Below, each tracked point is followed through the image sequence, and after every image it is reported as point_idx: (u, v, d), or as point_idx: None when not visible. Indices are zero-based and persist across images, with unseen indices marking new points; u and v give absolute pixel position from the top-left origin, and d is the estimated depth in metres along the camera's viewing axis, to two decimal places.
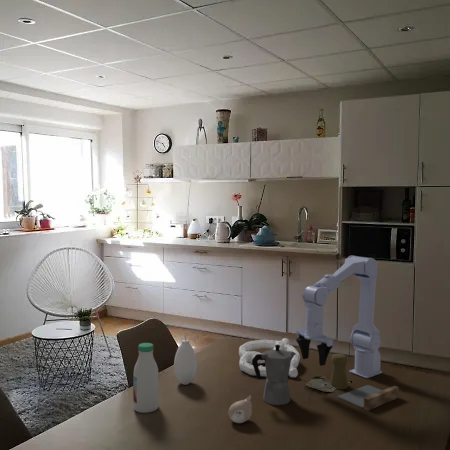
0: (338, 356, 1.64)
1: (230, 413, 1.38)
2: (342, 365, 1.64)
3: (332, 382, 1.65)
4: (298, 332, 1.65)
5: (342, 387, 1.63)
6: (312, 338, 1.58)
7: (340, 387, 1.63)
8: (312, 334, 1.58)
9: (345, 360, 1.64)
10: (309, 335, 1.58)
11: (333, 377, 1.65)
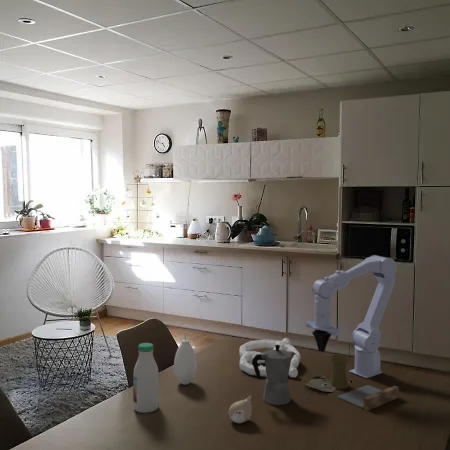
0: (338, 356, 1.64)
1: (230, 413, 1.38)
2: (342, 365, 1.64)
3: (332, 382, 1.65)
4: (307, 323, 1.76)
5: (342, 387, 1.63)
6: (320, 328, 1.68)
7: (340, 387, 1.63)
8: (320, 325, 1.69)
9: (345, 360, 1.64)
10: (317, 326, 1.69)
11: (333, 377, 1.65)
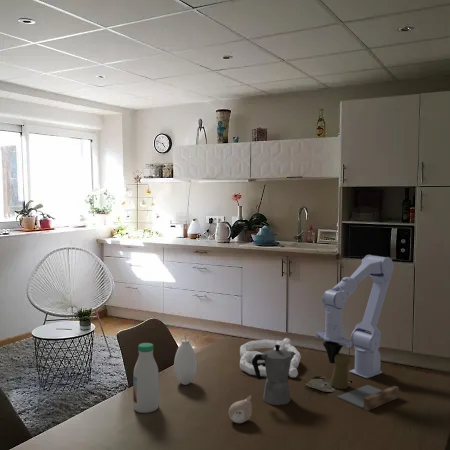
0: (341, 357, 1.63)
1: (230, 413, 1.38)
2: (345, 366, 1.63)
3: (333, 381, 1.65)
4: (317, 334, 1.72)
5: (342, 387, 1.63)
6: (331, 340, 1.64)
7: (340, 387, 1.63)
8: (331, 336, 1.65)
9: (348, 361, 1.63)
10: (328, 337, 1.65)
11: (334, 376, 1.64)
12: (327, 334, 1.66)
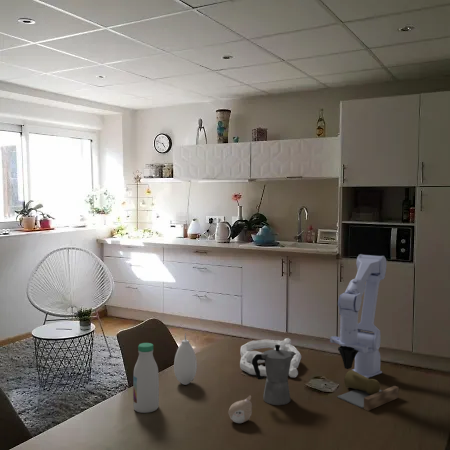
0: (373, 388, 1.55)
1: (230, 413, 1.38)
2: (365, 390, 1.58)
3: (350, 374, 1.62)
4: (332, 338, 1.66)
5: (346, 384, 1.63)
6: (347, 345, 1.59)
7: (345, 382, 1.63)
8: (347, 341, 1.59)
9: (370, 394, 1.57)
10: (344, 342, 1.60)
11: (355, 377, 1.61)
12: (342, 339, 1.60)
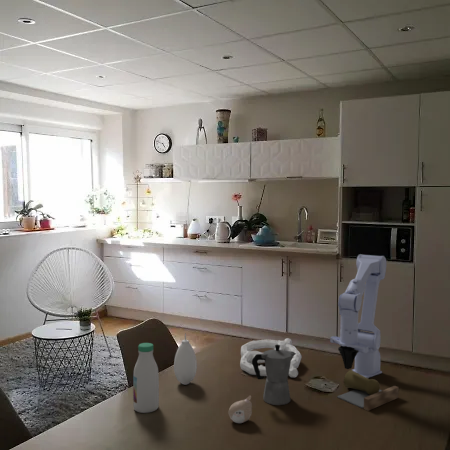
0: (373, 389, 1.55)
1: (230, 413, 1.38)
2: (365, 390, 1.58)
3: (350, 375, 1.62)
4: (332, 339, 1.66)
5: (345, 384, 1.63)
6: (347, 345, 1.59)
7: (345, 382, 1.63)
8: (347, 341, 1.59)
9: (370, 394, 1.57)
10: (344, 342, 1.60)
11: (354, 377, 1.61)
12: (342, 339, 1.60)
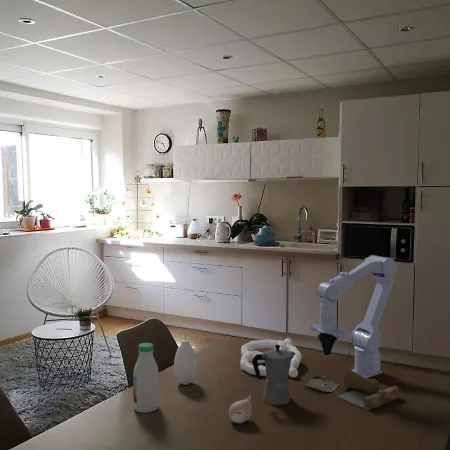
0: (373, 389, 1.55)
1: (230, 413, 1.38)
2: (365, 390, 1.58)
3: (350, 375, 1.62)
4: (312, 326, 1.74)
5: (345, 384, 1.63)
6: (326, 332, 1.66)
7: (345, 382, 1.63)
8: (326, 328, 1.67)
9: (370, 394, 1.57)
10: (323, 329, 1.67)
11: (354, 377, 1.61)
12: (322, 326, 1.68)
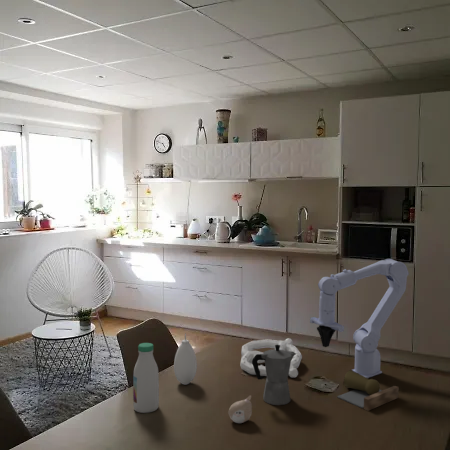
0: (373, 389, 1.55)
1: (230, 413, 1.38)
2: (365, 390, 1.58)
3: (350, 375, 1.62)
4: (311, 319, 1.80)
5: (345, 384, 1.63)
6: (325, 324, 1.73)
7: (345, 382, 1.63)
8: (325, 321, 1.73)
9: (370, 394, 1.57)
10: (322, 321, 1.74)
11: (354, 377, 1.61)
12: (321, 319, 1.74)
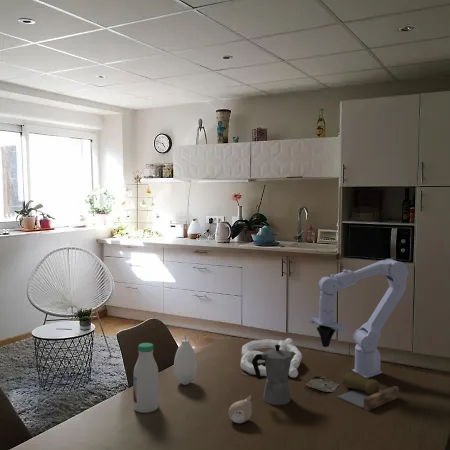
0: (373, 389, 1.55)
1: (230, 413, 1.38)
2: (365, 390, 1.58)
3: (350, 375, 1.62)
4: (311, 319, 1.80)
5: (345, 384, 1.63)
6: (325, 324, 1.73)
7: (345, 382, 1.63)
8: (325, 321, 1.73)
9: (370, 394, 1.57)
10: (322, 321, 1.74)
11: (354, 377, 1.61)
12: (321, 319, 1.74)
